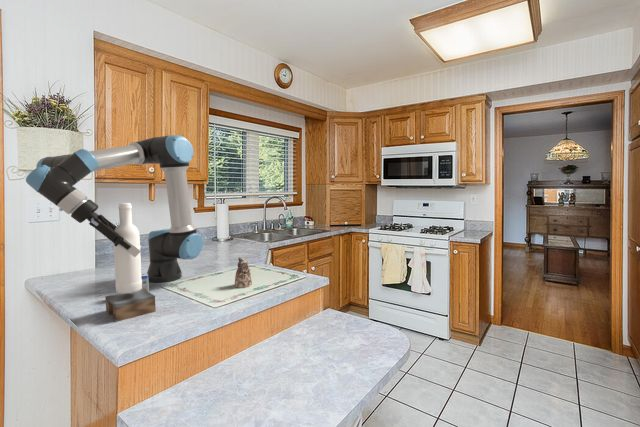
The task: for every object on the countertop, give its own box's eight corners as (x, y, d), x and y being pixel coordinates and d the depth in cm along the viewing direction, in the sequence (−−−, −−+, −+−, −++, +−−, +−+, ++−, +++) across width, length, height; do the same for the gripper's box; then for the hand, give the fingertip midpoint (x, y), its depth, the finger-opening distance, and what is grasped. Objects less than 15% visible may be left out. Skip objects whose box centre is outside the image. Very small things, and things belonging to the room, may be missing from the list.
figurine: (239, 288, 143) (239, 260, 142) (231, 285, 148) (231, 258, 147) (254, 285, 147) (254, 258, 146) (246, 282, 153) (245, 255, 152)
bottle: (120, 295, 111) (116, 204, 109) (112, 290, 117) (107, 203, 114) (146, 289, 117) (142, 203, 115) (136, 285, 123) (132, 202, 120)
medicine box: (126, 300, 129) (124, 278, 129) (126, 297, 133) (125, 275, 132) (149, 297, 133) (148, 275, 132) (149, 293, 137) (147, 272, 136)
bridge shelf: (143, 303, 126) (142, 288, 126) (155, 311, 118) (154, 295, 117) (106, 311, 118) (105, 296, 117) (116, 321, 109) (115, 304, 109)
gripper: (76, 213, 117) (132, 254, 126) (61, 218, 99) (128, 266, 107) (93, 197, 119) (147, 239, 127) (82, 199, 101) (146, 248, 109)
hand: (138, 251), depth 117 cm, fingers closed on bottle, 8 cm apart
